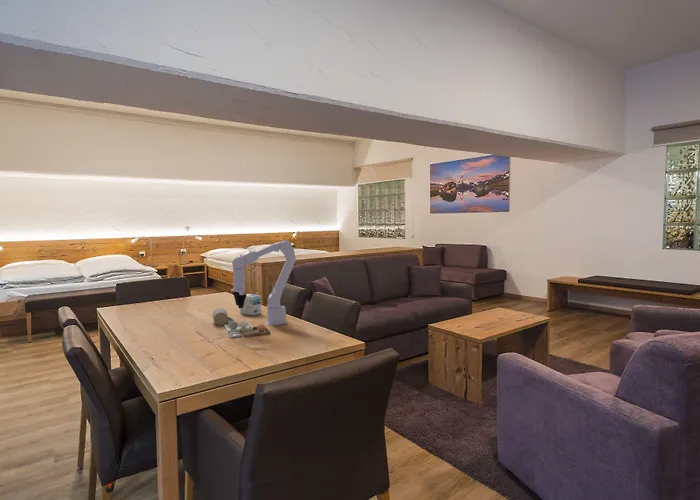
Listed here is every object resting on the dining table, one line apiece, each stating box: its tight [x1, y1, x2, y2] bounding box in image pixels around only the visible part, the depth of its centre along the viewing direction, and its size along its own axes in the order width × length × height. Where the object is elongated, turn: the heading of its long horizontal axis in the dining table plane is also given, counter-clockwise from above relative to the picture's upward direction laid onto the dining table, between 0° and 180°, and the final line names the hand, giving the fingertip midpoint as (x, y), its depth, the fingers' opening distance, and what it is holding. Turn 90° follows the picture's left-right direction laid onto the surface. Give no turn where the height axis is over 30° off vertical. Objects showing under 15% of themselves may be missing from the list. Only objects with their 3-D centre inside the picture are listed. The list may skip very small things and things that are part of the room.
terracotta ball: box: [257, 323, 266, 332], centre depth 199 cm, size 4×4×4 cm
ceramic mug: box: [212, 308, 235, 326], centre depth 216 cm, size 11×8×8 cm
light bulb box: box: [239, 293, 262, 316], centre depth 239 cm, size 11×7×11 cm, turn 58°
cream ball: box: [239, 319, 248, 328], centre depth 206 cm, size 4×4×4 cm
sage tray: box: [224, 321, 254, 334], centre depth 205 cm, size 12×12×2 cm
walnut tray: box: [240, 325, 271, 338], centre depth 198 cm, size 12×12×2 cm
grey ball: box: [228, 320, 238, 329], centre depth 204 cm, size 4×4×4 cm
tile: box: [227, 332, 243, 339], centre depth 194 cm, size 5×8×1 cm, turn 24°
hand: (239, 306), depth 212 cm, fingers open, 7 cm apart
